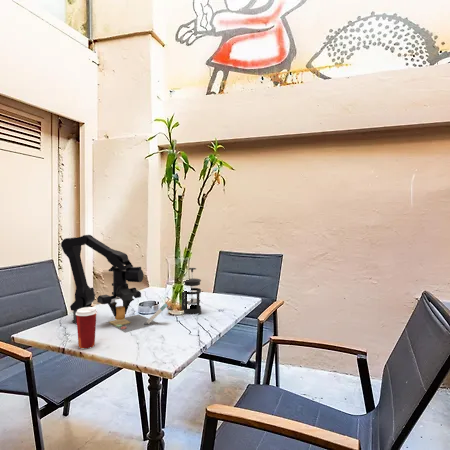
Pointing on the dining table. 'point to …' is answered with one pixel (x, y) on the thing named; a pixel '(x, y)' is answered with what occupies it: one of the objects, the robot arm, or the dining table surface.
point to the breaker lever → (157, 313)
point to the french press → (193, 308)
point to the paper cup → (86, 326)
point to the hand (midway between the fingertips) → (119, 315)
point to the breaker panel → (131, 323)
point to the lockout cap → (120, 312)
